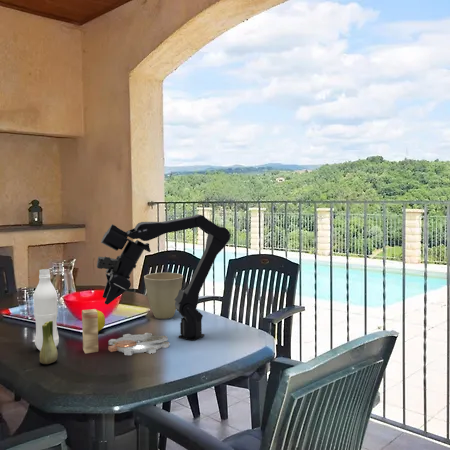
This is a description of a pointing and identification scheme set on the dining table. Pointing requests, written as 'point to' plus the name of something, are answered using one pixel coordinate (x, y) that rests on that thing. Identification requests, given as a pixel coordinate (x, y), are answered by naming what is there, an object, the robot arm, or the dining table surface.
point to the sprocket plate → (138, 343)
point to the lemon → (100, 320)
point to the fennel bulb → (48, 345)
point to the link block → (90, 330)
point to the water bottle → (45, 307)
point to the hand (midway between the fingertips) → (104, 300)
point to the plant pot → (163, 293)
